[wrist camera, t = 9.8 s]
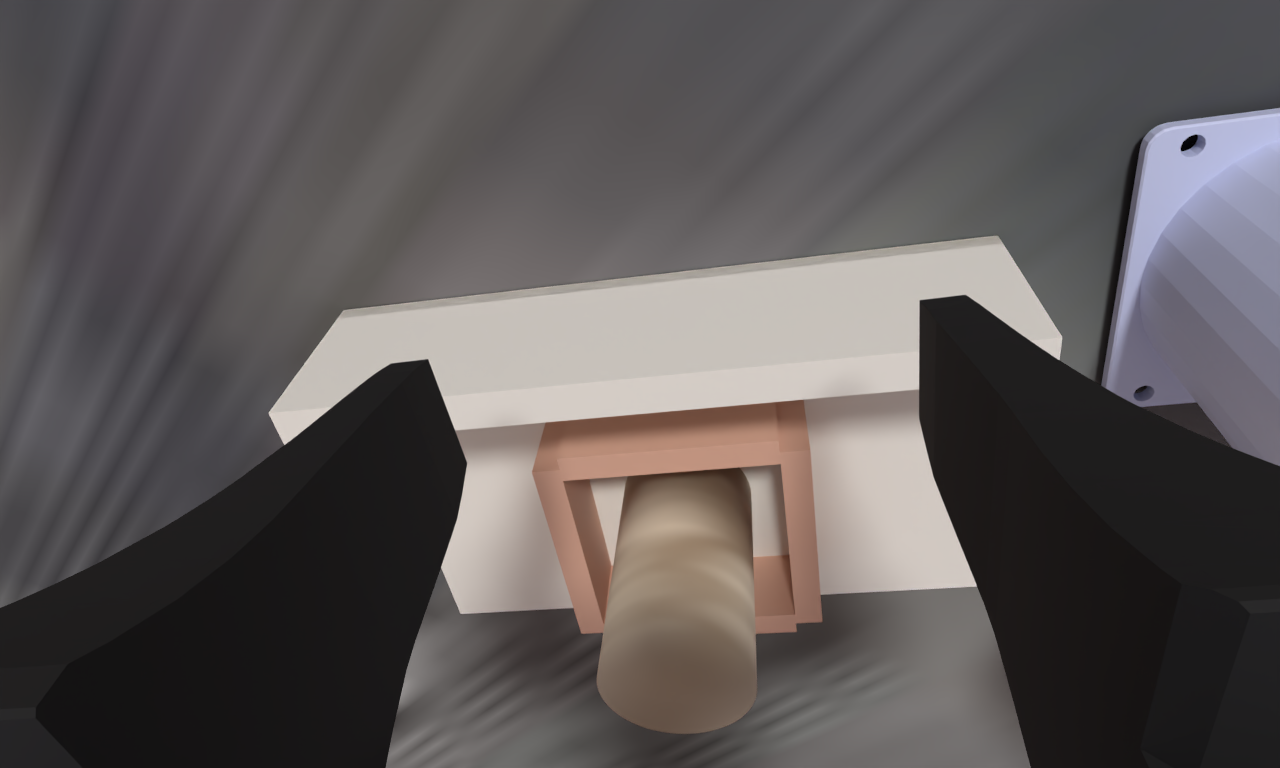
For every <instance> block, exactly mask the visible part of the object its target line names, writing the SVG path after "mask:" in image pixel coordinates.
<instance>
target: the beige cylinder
mask: <svg viewBox="0 0 1280 768" xmlns="http://www.w3.org/2000/svg"><path fill="white" fill-rule="evenodd" d="M597 687H598V690H599V693H600V695H601V697H602V699H603V700H604V701H605V703H606V704H607V705H608V706H609V707H610V708H611V709H612V710H613V711H614V712H615V713H617V714H618V715H620V716H621V717H623V718H624V719H626V720H628V721H630V722H632V723H634V724H636V725H639V726H641V727H644V728H648V729H651V730H655V731H660V732H666V733H675V734H694V733H703V732H709V731H713V730H717V729H720V728H723V727H726V726H728V725H730V724H732V723H734V722H736V721H737V720H739V719H740V718H742V717H743V716H744V715H745V714H746V713H747V712H748V711H749V710H750V709H751V707H752V705H753V704H754V702H755V699H756V696H757V663H756V630H755V598H754V565H753V532H752V500H751V488H750V484H749V482H748V480H747V477H746V476H745V474H744V473H743V471H742V470H741V469H740V468H739V467H738V468H725V469H712V470H699V471H686V472H673V473H660V474H647V475H634V476H628V477H627V480H626V483H625V490H624V496H623V503H622V510H621V517H620V523H619V530H618V537H617V544H616V550H615V557H614V564H613V571H612V577H611V584H610V591H609V598H608V605H607V611H606V618H605V625H604V632H603V638H602V645H601V652H600V659H599V665H598V672H597Z"/></svg>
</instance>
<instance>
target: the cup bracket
mask: <svg viewBox="0 0 1280 768" xmlns="http://www.w3.org/2000/svg"><path fill="white" fill-rule="evenodd" d="M959 295H967V296H968V297H970V298H971V299H973V300H974V301H976V302H977V303H979V304H980V305H981V306H983V307H984V308H985V309H987V310H988V311H990V312H991V313H992V314H994V315H995V316H996V317H998V318H999V319H1000V320H1002V321H1003V322H1005V323H1006V324H1007V325H1009V326H1010V327H1012V328H1013V329H1014V330H1016V331H1017V332H1019V333H1020V334H1021V335H1023V336H1024V337H1026V338H1027V339H1028V340H1030V341H1031V342H1033V343H1034V344H1036V345H1037V346H1039V347H1040V348H1042V349H1043V350H1045V351H1046V352H1048V353H1049V354H1050V355H1052V356H1054V357H1055V358H1057V359H1058V360H1060V352H1061V344H1062V336H1061V334H1060V333H1059V331H1058V330H1057V328H1056V327H1055V325H1054V323H1053V322H1052V320H1051V319H1050V317H1049V315H1048V314H1047V312H1046V311H1045V309H1044V308H1043V306H1042V304H1041V303H1040V301H1039V300H1038V298H1037V297H1036V295H1035V293H1034V292H1033V290H1032V289H1031V287H1030V285H1029V284H1028V282H1027V281H1026V279H1025V278H1024V276H1023V274H1022V273H1021V271H1020V270H1019V268H1018V267H1017V265H1016V263H1015V262H1014V260H1013V259H1012V257H1011V256H1010V254H1009V252H1008V251H1007V249H1006V248H1005V246H1004V244H1003V243H1002V241H1001V240H1000V238H999V237H998V235H997V236H988V237H979V238H970V239H962V240H953V241H944V242H935V243H927V244H918V245H909V246H900V247H892V248H883V249H874V250H865V251H857V252H848V253H839V254H830V255H822V256H813V257H804V258H795V259H787V260H778V261H769V262H760V263H752V264H743V265H734V266H725V267H717V268H708V269H699V270H690V271H682V272H673V273H664V274H655V275H647V276H638V277H629V278H620V279H612V280H603V281H594V282H585V283H577V284H568V285H559V286H550V287H542V288H533V289H524V290H516V291H507V292H498V293H489V294H481V295H472V296H463V297H454V298H446V299H437V300H428V301H419V302H411V303H402V304H393V305H384V306H376V307H367V308H358V309H349V310H343V312H342V313H341V314H340V316H339V317H338V319H337V320H336V321H335V323H334V324H333V325H332V327H331V328H330V330H329V331H328V332H327V334H326V335H325V336H324V338H323V339H322V340H321V342H320V343H319V345H318V346H317V347H316V349H315V350H314V351H313V353H312V354H311V356H310V357H309V358H308V360H307V361H306V362H305V364H304V365H303V367H302V368H301V369H300V371H299V372H298V373H297V375H296V376H295V377H294V379H293V380H292V382H291V383H290V384H289V386H288V387H287V388H286V390H285V391H284V393H283V394H282V395H281V397H280V398H279V399H278V401H277V402H276V403H275V405H274V406H273V408H272V409H271V410H270V412H269V415H270V417H271V419H272V421H273V423H274V425H275V427H276V429H277V431H278V433H279V435H280V437H281V439H282V441H283V443H284V445H285V444H287V443H288V442H289V441H291V440H292V439H293V438H294V437H296V436H297V435H298V434H299V433H301V432H302V431H303V430H304V429H306V428H307V427H308V426H309V425H311V424H312V423H313V422H314V421H316V420H317V419H318V418H319V417H321V416H322V415H323V414H324V413H326V412H327V411H328V410H329V409H331V408H332V407H333V406H334V405H336V404H337V403H338V402H339V401H340V400H342V399H343V398H344V397H345V396H347V395H348V394H349V393H350V392H352V391H353V390H354V389H355V388H357V387H358V386H359V385H361V384H362V383H363V382H364V381H366V380H367V379H368V378H370V377H371V376H373V375H374V374H375V373H377V372H378V371H380V370H381V369H383V368H384V367H386V366H387V365H389V364H391V363H399V362H407V361H416V360H424V359H428V360H429V363H430V366H431V368H432V371H433V373H434V376H435V379H436V381H437V384H438V387H439V389H440V392H441V395H442V397H443V400H444V403H445V405H446V408H447V411H448V413H449V416H450V418H451V421H452V424H453V426H454V429H455V432H456V434H457V437H458V440H459V442H460V445H461V448H462V450H463V453H464V456H465V458H466V461H467V468H466V474H465V480H464V486H463V492H462V498H461V502H460V507H459V512H458V517H457V521H456V524H455V527H454V530H453V533H452V536H451V539H450V542H449V545H448V548H447V551H446V554H445V557H444V560H443V563H442V566H441V568H442V570H443V573H444V575H445V578H446V580H447V582H448V585H449V587H450V590H451V592H452V594H453V597H454V599H455V602H456V604H457V606H458V609H459V611H460V614H469V613H488V612H507V611H525V610H544V609H563V608H574V611H575V614H576V618H577V621H578V624H579V627H580V631H581V634H587V633H603V632H604V625H605V618H606V611H607V605H608V598H609V591H610V584H611V577H612V571H613V564H614V557H615V550H616V544H617V537H618V530H619V523H620V517H621V510H622V503H623V496H624V490H625V483H626V480H627V477H628V476H634V475H647V474H660V473H673V472H686V471H699V470H712V469H725V468H738V467H739V468H740V469H741V470H742V471H743V473H744V474H745V476H746V477H747V480H748V482H749V484H750V488H751V500H752V532H753V565H754V598H755V630H756V634H763V633H784V632H797V628H796V623H814V622H822V609H821V595H825V594H844V593H863V592H882V591H900V590H919V589H938V588H957V587H975V586H977V585H976V582H975V580H974V577H973V575H972V572H971V570H970V567H969V565H968V562H967V560H966V558H965V555H964V553H963V550H962V548H961V545H960V543H959V540H958V538H957V535H956V533H955V530H954V528H953V525H952V523H951V520H950V518H949V515H948V513H947V510H946V508H945V505H944V503H943V500H942V498H941V495H940V493H939V490H938V487H937V485H936V482H935V480H934V477H933V473H932V469H931V465H930V462H929V458H928V454H927V450H926V446H925V441H924V437H923V433H922V429H921V425H920V420H919V305H920V300H925V299H934V298H942V297H950V296H959Z"/></svg>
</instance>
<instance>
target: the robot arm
mask: <svg viewBox="0 0 1280 768" xmlns="http://www.w3.org/2000/svg"><path fill="white" fill-rule="evenodd" d="M1195 134H1196V135H1198V139H1197V142H1196V144H1195V145H1194V146H1193V147H1192V148H1190V149H1189V150H1186V151H1181V145H1182V143H1183V141H1185V140H1186V139H1187V138H1188V137H1190V136H1192V135H1195ZM1142 386H1147V388H1146V389H1145V390H1144V391H1142V392H1139V393H1134V392H1135V391H1136V390H1137V389H1138V388H1139V387H1142ZM1196 402H1197V403H1198V405H1199V406H1200V407H1201V409H1202V410H1203V411H1204V412H1205V414H1206V415H1207V416H1208V417H1209V419H1210V420H1211V421H1212V423H1213V424H1214V425H1215V426H1216V428H1217V429H1218V430H1219V431H1220V433H1221V434H1222V435H1223V437H1224V438H1225V439H1226V440H1227V442H1228V443H1229V444H1230V445H1231V447H1232V448H1230V447H1228V446H1225V445H1222V444H1220V443H1218V442H1215V441H1213V440H1210V439H1208V438H1206V437H1203V436H1201V435H1198V434H1196V433H1194V432H1192V431H1189V430H1187V429H1185V428H1183V427H1181V426H1179V425H1177V424H1174V423H1172V422H1170V421H1168V420H1166V419H1164V418H1162V417H1160V416H1158V415H1155V414H1153V413H1151V412H1149V411H1147V410H1145V409H1143V408H1141V407H1147V406H1159V405H1171V404H1183V403H1196ZM919 420H920V425H921V429H922V433H923V437H924V441H925V446H926V450H927V454H928V458H929V462H930V465H931V469H932V473H933V477H934V480H935V482H936V485H937V487H938V490H939V493H940V495H941V498H942V500H943V503H944V505H945V508H946V510H947V513H948V515H949V518H950V520H951V523H952V525H953V528H954V530H955V533H956V535H957V538H958V540H959V543H960V545H961V548H962V550H963V553H964V555H965V558H966V560H967V562H968V565H969V567H970V570H971V572H972V575H973V577H974V580H975V582H976V585H977V587H978V590H979V592H980V595H981V597H982V600H983V602H984V605H985V607H986V610H987V613H988V616H989V619H990V622H991V625H992V628H993V630H994V633H995V637H996V640H997V644H998V647H999V651H1000V654H1001V658H1002V662H1003V665H1004V669H1005V672H1006V676H1007V680H1008V683H1009V687H1010V690H1011V694H1012V697H1013V701H1014V705H1015V709H1016V713H1017V716H1018V720H1019V724H1020V728H1021V732H1022V735H1023V739H1024V743H1025V747H1026V751H1027V754H1028V758H1029V762H1030V766H1031V768H1280V108H1276V109H1268V110H1261V111H1253V112H1245V113H1238V114H1230V115H1222V116H1214V117H1207V118H1199V119H1191V120H1184V121H1176V122H1168V123H1164V124H1161V125H1158V126H1156V127H1155V128H1153V129H1152V130H1150V131H1149V132H1148V133H1147V135H1146V136H1145V137H1144V138H1143V141H1142V143H1141V146H1140V151H1139V157H1138V163H1137V170H1136V176H1135V182H1134V188H1133V194H1132V200H1131V206H1130V212H1129V218H1128V225H1127V231H1126V237H1125V243H1124V249H1123V255H1122V261H1121V267H1120V273H1119V280H1118V286H1117V292H1116V298H1115V304H1114V310H1113V316H1112V322H1111V328H1110V335H1109V341H1108V347H1107V353H1106V359H1105V365H1104V371H1103V377H1102V383H1101V385H1099V384H1097V383H1096V382H1094V381H1092V380H1090V379H1089V378H1087V377H1085V376H1084V375H1082V374H1080V373H1079V372H1077V371H1076V370H1074V369H1072V368H1071V367H1069V366H1068V365H1066V364H1064V363H1063V362H1061V361H1060V360H1058V359H1057V358H1055V357H1054V356H1052V355H1050V354H1049V353H1048V352H1046V351H1045V350H1043V349H1042V348H1040V347H1039V346H1037V345H1036V344H1034V343H1033V342H1031V341H1030V340H1028V339H1027V338H1026V337H1024V336H1023V335H1021V334H1020V333H1019V332H1017V331H1016V330H1014V329H1013V328H1012V327H1010V326H1009V325H1007V324H1006V323H1005V322H1003V321H1002V320H1000V319H999V318H998V317H996V316H995V315H994V314H992V313H991V312H990V311H988V310H987V309H985V308H984V307H983V306H981V305H980V304H979V303H977V302H976V301H974V300H973V299H971V298H970V297H968V296H967V295H959V296H950V297H942V298H934V299H925V300H920V305H919ZM466 468H467V461H466V458H465V456H464V453H463V450H462V448H461V445H460V442H459V440H458V437H457V434H456V432H455V429H454V426H453V424H452V421H451V418H450V416H449V413H448V411H447V408H446V405H445V403H444V400H443V397H442V395H441V392H440V389H439V387H438V384H437V381H436V379H435V376H434V373H433V371H432V368H431V366H430V363H429V360H428V359H424V360H416V361H407V362H399V363H391V364H389V365H387V366H386V367H384V368H383V369H381V370H380V371H378V372H377V373H375V374H374V375H373V376H371V377H370V378H368V379H367V380H366V381H364V382H363V383H362V384H361V385H359V386H358V387H357V388H355V389H354V390H353V391H352V392H350V393H349V394H348V395H347V396H345V397H344V398H343V399H342V400H340V401H339V402H338V403H337V404H336V405H334V406H333V407H332V408H331V409H329V410H328V411H327V412H326V413H324V414H323V415H322V416H321V417H319V418H318V419H317V420H316V421H314V422H313V423H312V424H311V425H309V426H308V427H307V428H306V429H304V430H303V431H302V432H301V433H299V434H298V435H297V436H296V437H294V438H293V439H292V440H291V441H289V442H288V443H287V444H285V445H284V446H283V447H281V448H280V449H279V450H277V451H276V452H275V453H273V454H272V455H271V456H269V457H268V458H267V459H265V460H264V461H263V462H261V463H260V464H258V465H257V466H256V467H254V468H253V469H252V470H250V471H249V472H248V473H246V474H245V475H244V476H242V477H241V478H240V479H238V480H237V481H235V482H234V483H233V484H231V485H230V486H228V487H227V488H225V489H224V490H222V491H221V492H219V493H218V494H216V495H215V496H213V497H212V498H210V499H209V500H207V501H206V502H204V503H203V504H201V505H199V506H198V507H196V508H195V509H193V510H191V511H190V512H188V513H187V514H185V515H183V516H182V517H180V518H179V519H177V520H175V521H174V522H172V523H170V524H169V525H167V526H165V527H164V528H162V529H160V530H158V531H156V532H155V533H153V534H151V535H149V536H147V537H145V538H143V539H142V540H140V541H138V542H136V543H134V544H132V545H131V546H129V547H127V548H125V549H123V550H121V551H120V552H118V553H116V554H114V555H112V556H110V557H109V558H107V559H105V560H103V561H101V562H99V563H97V564H95V565H93V566H91V567H89V568H87V569H85V570H83V571H81V572H79V573H77V574H75V575H73V576H71V577H69V578H67V579H65V580H62V581H60V582H58V583H56V584H54V585H52V586H50V587H47V588H45V589H43V590H41V591H38V592H36V593H34V594H32V595H30V596H27V597H25V598H23V599H21V600H18V601H16V602H14V603H11V604H9V605H7V606H4V607H2V608H0V768H385V767H386V762H387V757H388V752H389V747H390V741H391V736H392V731H393V727H394V722H395V718H396V713H397V709H398V705H399V700H400V696H401V691H402V687H403V683H404V678H405V674H406V670H407V666H408V663H409V660H410V656H411V653H412V650H413V646H414V643H415V640H416V637H417V634H418V631H419V629H420V626H421V623H422V620H423V617H424V614H425V611H426V609H427V606H428V603H429V600H430V597H431V594H432V591H433V589H434V586H435V583H436V580H437V577H438V574H439V572H440V569H441V566H442V563H443V560H444V557H445V554H446V551H447V548H448V545H449V542H450V539H451V536H452V533H453V530H454V527H455V524H456V521H457V517H458V512H459V507H460V502H461V498H462V492H463V486H464V480H465V474H466Z"/></svg>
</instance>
